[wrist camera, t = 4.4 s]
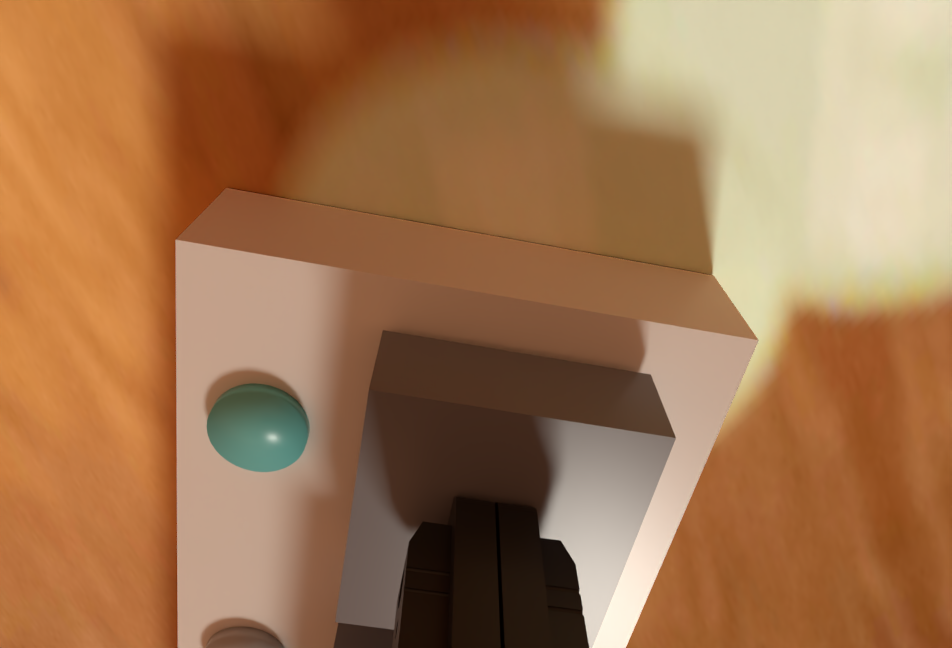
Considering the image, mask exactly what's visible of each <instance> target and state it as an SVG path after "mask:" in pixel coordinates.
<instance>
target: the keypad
mask: <svg viewBox="0 0 952 648" xmlns="http://www.w3.org/2000/svg"><path fill="white" fill-rule="evenodd" d="M175 246H176V429H177V611H178V648H333V647H334V642H335V637H336V632H337V627H338V622H335V620H336V613H337V606H338V599H339V592H340V585H341V578H342V571H343V564H344V557H345V550H346V544H347V537H348V530H349V523H350V516H351V509H352V502H353V495H354V488H355V481H356V475H357V468H358V461H359V454H360V447H361V440H362V433H363V426H364V419H365V412H366V405H367V399H368V392H369V387H370V382H371V378H372V374H373V370H374V365H375V361H376V357H377V353H378V348H379V344H380V340H381V336H382V331H383V330H385V331H392V332H398V333H404V334H410V335H416V336H422V337H428V338H434V339H440V340H446V341H452V342H458V343H464V344H470V345H476V346H482V347H488V348H494V349H500V350H506V351H512V352H518V353H524V354H530V355H536V356H542V357H548V358H554V359H560V360H566V361H572V362H578V363H584V364H591V365H597V366H603V367H609V368H615V369H621V370H627V371H633V372H639V373H645V374H651V376H652V379H653V381H654V384H655V386H656V389H657V391H658V394H659V396H660V399H661V401H662V404H663V406H664V409H665V411H666V414H667V416H668V419H669V421H670V424H671V427H672V429H673V432H674V434H675V437H676V440H675V442H674V445H673V447H672V450H671V452H670V455H669V457H668V460H667V462H666V465H665V467H664V470H663V472H662V475H661V477H660V480H659V482H658V485H657V487H656V490H655V492H654V495H653V497H652V500H651V502H650V505H649V507H648V510H647V512H646V515H645V517H644V520H643V522H642V525H641V527H640V530H639V532H638V535H637V537H636V540H635V542H634V545H633V547H632V550H631V552H630V555H629V557H628V560H627V562H626V565H625V567H624V570H623V572H622V575H621V577H620V580H619V582H618V585H617V587H616V590H615V592H614V595H613V597H612V600H611V602H610V605H609V607H608V610H607V612H606V615H605V617H604V620H603V622H602V625H601V627H600V630H599V632H598V635H597V637H596V640H595V642H594V645H593V647H592V648H626V646H627V643H628V641H629V639H630V636H631V634H632V632H633V630H634V627H635V625H636V623H637V620H638V618H639V616H640V613H641V611H642V609H643V606H644V604H645V602H646V599H647V597H648V595H649V593H650V590H651V588H652V586H653V583H654V581H655V579H656V576H657V574H658V572H659V569H660V567H661V565H662V563H663V560H664V558H665V556H666V553H667V551H668V549H669V546H670V544H671V542H672V539H673V537H674V535H675V532H676V530H677V528H678V526H679V523H680V521H681V519H682V516H683V514H684V512H685V509H686V507H687V505H688V502H689V500H690V498H691V495H692V493H693V491H694V489H695V486H696V484H697V482H698V479H699V477H700V475H701V472H702V470H703V468H704V465H705V463H706V461H707V458H708V456H709V454H710V452H711V449H712V447H713V445H714V442H715V440H716V438H717V435H718V433H719V431H720V428H721V426H722V424H723V421H724V419H725V417H726V415H727V412H728V410H729V408H730V405H731V403H732V401H733V398H734V396H735V394H736V391H737V389H738V387H739V384H740V382H741V380H742V378H743V375H744V373H745V371H746V368H747V366H748V364H749V361H750V359H751V357H752V354H753V352H754V350H755V347H756V345H757V343H758V341H759V340H758V339H757V337H756V336H755V334H754V333H753V331H752V330H751V329H750V327H749V326H748V324H747V323H746V321H745V320H744V319H743V317H742V316H741V314H740V313H739V311H738V310H737V308H736V307H735V306H734V304H733V303H732V301H731V300H730V298H729V297H728V295H727V294H726V293H725V291H724V290H723V288H722V287H721V285H720V284H719V283H718V281H717V280H716V278H715V277H714V275H708V274H703V273H697V272H692V271H686V270H680V269H675V268H669V267H664V266H658V265H653V264H647V263H642V262H636V261H630V260H625V259H619V258H614V257H608V256H603V255H597V254H592V253H586V252H580V251H575V250H569V249H564V248H558V247H553V246H547V245H542V244H536V243H530V242H525V241H519V240H514V239H508V238H503V237H497V236H492V235H486V234H480V233H475V232H469V231H464V230H458V229H453V228H447V227H441V226H436V225H430V224H425V223H419V222H414V221H408V220H403V219H397V218H391V217H386V216H380V215H375V214H369V213H364V212H358V211H353V210H347V209H341V208H336V207H330V206H325V205H319V204H314V203H308V202H303V201H297V200H291V199H286V198H280V197H275V196H269V195H264V194H258V193H253V192H247V191H241V190H236V189H230V188H226V189H225V190H224V191H223V192H222V193H221V194H220V195H219V196H218V197H217V198H216V199H215V200H214V201H213V202H212V203H211V204H210V205H209V206H208V207H207V208H206V209H205V210H204V211H203V212H202V213H201V214H200V215H199V216H198V217H197V218H196V219H195V220H194V221H193V222H192V223H191V224H190V225H189V226H188V227H187V228H186V229H185V230H184V231H183V232H182V233H181V235H180V236H179V237H178V238H177V239H176V240H175Z"/></svg>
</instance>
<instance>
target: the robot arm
mask: <svg viewBox="0 0 952 648" xmlns="http://www.w3.org/2000/svg"><path fill="white" fill-rule="evenodd" d="M579 590H580V588H579V582H578V576H577V570H576V564H575V562H574V561H573V559H572V558H571V556H570V554H569V553H568V551H567V550H566V548H565V546H564V545H563V543H562V542H561V540H553V539H546V538H540V533H539V524H538V515H537V510H536V508H535V507H528V506H521V505H514V504H508V503H501V502H496V503H494V502H492V501H485V500H478V499H471V498H464V497H458V496H455V497H454V499H453V504H452V508H451V512H450V517H449V521H448V525H445V524H438V523H430V522H422V523H421V525H420V526H419V528H418V529H417V531H416V532H415V534H414V535H413V536H412V538H411V539H410V541H409V544H408V549H407V554H406V559H405V564H404V569H403V574H402V579H401V584H400V589H399V594H398V599H397V607H396V616H395V625H394V634H393V643H392V648H589V643H588V637H587V631H586V625H585V619H584V615H583V607H582V600H581V594H579Z"/></svg>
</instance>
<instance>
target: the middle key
mask: <svg viewBox="0 0 952 648" xmlns="http://www.w3.org/2000/svg"><path fill="white" fill-rule="evenodd" d="M393 634H394V630H392V629H385V628H377V627H369V626H361V625H354V624H346V623H338V627H337V632H336V637H335V642H334V647H333V648H392V643H393Z"/></svg>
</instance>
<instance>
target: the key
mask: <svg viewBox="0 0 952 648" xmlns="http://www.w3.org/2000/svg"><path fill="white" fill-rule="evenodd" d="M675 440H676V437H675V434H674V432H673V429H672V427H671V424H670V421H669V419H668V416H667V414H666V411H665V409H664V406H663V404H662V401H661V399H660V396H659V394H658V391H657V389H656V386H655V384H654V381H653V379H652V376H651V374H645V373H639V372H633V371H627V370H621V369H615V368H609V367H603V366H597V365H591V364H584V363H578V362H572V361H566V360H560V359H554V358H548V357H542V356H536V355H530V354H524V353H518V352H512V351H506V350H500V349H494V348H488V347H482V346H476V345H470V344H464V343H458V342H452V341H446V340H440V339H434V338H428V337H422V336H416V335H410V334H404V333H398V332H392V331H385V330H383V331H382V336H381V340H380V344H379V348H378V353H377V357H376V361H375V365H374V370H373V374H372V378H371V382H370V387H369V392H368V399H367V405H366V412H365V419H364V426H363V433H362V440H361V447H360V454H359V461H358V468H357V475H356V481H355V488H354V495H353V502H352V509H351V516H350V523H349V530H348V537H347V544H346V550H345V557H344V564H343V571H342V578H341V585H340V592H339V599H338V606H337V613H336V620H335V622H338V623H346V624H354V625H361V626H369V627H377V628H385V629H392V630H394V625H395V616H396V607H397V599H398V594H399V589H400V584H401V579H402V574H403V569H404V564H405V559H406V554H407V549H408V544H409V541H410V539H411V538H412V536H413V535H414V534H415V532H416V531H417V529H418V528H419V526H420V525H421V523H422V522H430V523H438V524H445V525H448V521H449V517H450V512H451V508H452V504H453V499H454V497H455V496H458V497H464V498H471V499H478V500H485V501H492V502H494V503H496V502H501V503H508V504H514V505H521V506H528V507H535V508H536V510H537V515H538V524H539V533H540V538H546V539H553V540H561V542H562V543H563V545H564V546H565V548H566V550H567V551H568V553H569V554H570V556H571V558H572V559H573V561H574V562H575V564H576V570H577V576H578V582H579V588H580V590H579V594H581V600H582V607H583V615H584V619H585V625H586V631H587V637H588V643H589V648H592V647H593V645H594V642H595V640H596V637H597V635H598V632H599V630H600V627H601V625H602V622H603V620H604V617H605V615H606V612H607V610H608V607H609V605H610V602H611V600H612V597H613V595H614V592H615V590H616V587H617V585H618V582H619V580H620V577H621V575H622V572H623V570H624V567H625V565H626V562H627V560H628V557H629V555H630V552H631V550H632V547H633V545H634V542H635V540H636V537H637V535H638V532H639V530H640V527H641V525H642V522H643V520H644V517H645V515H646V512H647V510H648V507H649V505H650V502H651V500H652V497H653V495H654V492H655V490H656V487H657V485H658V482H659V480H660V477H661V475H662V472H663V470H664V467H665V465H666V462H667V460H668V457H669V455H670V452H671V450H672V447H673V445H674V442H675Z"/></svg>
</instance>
